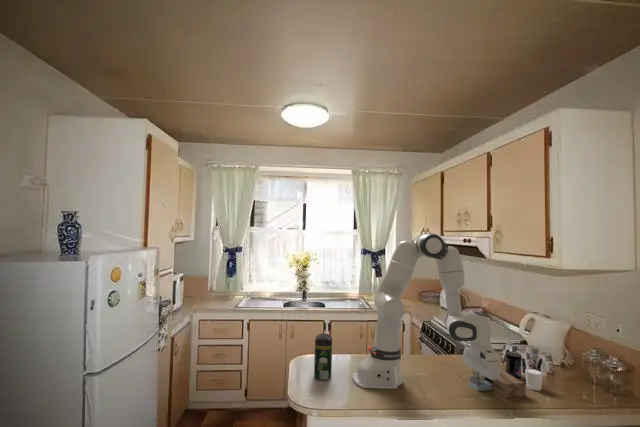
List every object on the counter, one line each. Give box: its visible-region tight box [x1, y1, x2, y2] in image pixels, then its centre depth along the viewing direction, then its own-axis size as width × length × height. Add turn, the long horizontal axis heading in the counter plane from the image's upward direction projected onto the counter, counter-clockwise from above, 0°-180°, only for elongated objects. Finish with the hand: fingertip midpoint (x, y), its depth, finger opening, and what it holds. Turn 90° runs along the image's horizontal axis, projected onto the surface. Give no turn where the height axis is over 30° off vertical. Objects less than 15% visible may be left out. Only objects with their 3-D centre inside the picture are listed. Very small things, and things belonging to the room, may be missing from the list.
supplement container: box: [505, 351, 523, 380], centre depth 167 cm, size 7×7×10 cm
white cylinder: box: [524, 368, 544, 391], centre depth 155 cm, size 7×7×7 cm
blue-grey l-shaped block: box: [469, 376, 493, 392], centre depth 153 cm, size 12×5×4 cm, turn 102°
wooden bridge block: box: [472, 368, 526, 399], centre depth 154 cm, size 10×20×6 cm, turn 12°
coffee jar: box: [313, 333, 333, 381], centre depth 159 cm, size 10×8×19 cm
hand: (479, 382), depth 153 cm, fingers closed
